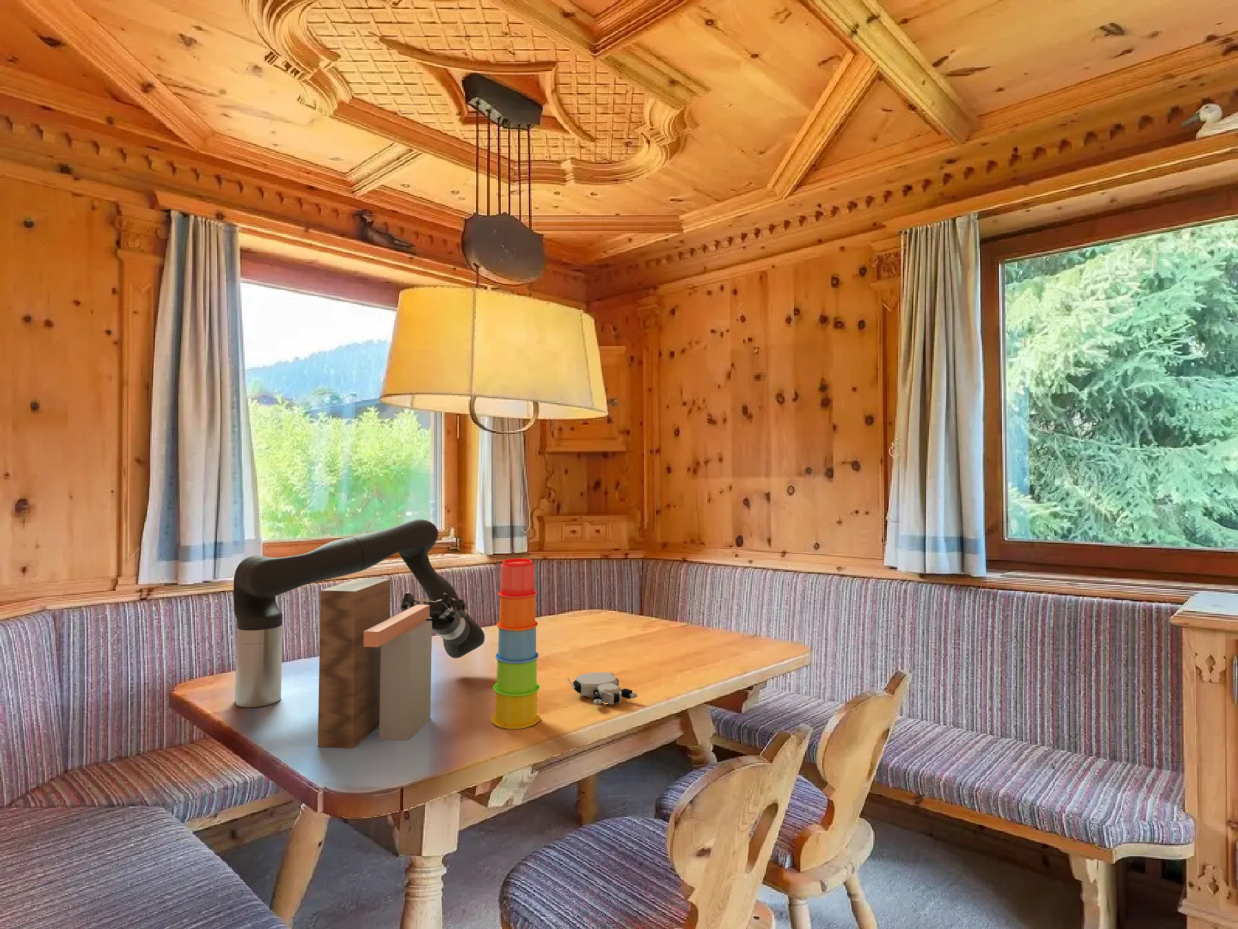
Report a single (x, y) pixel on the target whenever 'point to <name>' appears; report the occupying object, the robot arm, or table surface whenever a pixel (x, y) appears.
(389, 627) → the terracotta bar
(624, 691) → the robot toy
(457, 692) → the table surface
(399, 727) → the taupe pedestal
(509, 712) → the stacking cups
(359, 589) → the walnut post
